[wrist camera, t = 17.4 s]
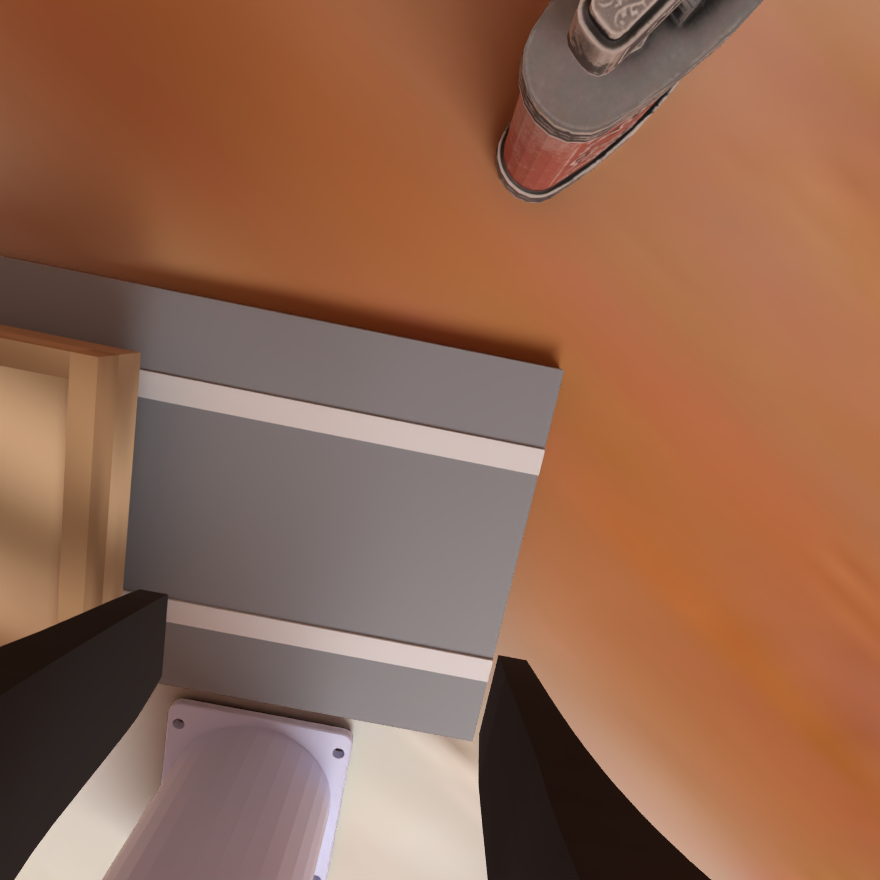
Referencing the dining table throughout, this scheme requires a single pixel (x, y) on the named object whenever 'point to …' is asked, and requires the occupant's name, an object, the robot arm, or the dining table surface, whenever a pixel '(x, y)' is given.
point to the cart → (62, 476)
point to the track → (313, 496)
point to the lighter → (601, 81)
